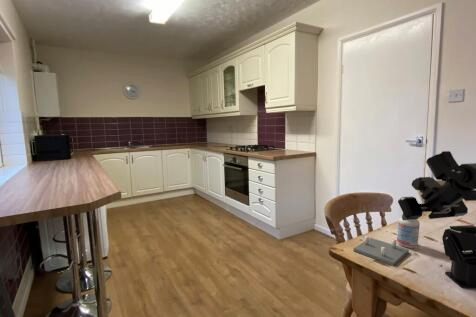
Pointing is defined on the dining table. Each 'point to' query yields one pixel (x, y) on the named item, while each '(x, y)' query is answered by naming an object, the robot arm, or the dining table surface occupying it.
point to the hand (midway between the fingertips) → (416, 218)
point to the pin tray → (381, 250)
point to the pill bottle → (408, 232)
